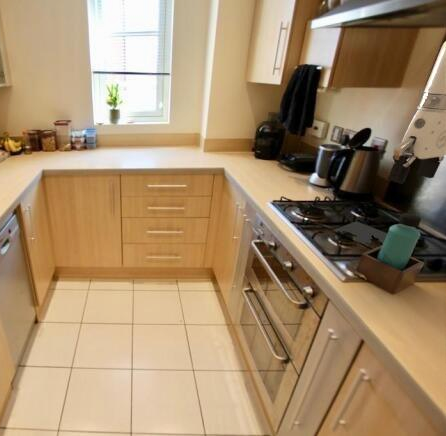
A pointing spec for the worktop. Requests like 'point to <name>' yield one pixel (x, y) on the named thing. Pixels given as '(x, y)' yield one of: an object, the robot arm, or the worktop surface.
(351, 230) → the mat
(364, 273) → the open box
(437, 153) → the robot arm
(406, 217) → the beverage bottle
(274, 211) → the worktop surface
